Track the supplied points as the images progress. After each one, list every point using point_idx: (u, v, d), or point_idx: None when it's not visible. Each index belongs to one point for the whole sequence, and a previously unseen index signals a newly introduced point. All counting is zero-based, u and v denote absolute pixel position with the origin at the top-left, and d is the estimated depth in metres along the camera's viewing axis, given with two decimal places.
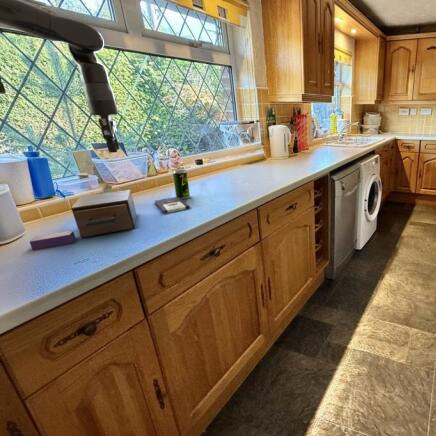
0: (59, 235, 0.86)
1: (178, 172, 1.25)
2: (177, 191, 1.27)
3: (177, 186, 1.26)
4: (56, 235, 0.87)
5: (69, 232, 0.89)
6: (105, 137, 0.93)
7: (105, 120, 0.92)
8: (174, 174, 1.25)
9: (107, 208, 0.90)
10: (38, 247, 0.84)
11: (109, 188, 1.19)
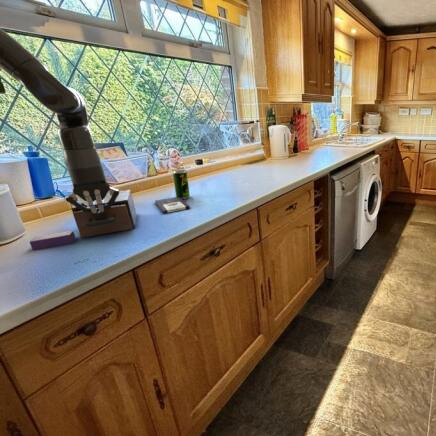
0: (59, 235, 0.86)
1: (178, 172, 1.25)
2: (177, 191, 1.27)
3: (177, 186, 1.26)
4: (56, 235, 0.87)
5: (69, 232, 0.89)
6: None
7: None
8: (174, 174, 1.25)
9: (107, 209, 0.90)
10: (38, 247, 0.84)
11: None
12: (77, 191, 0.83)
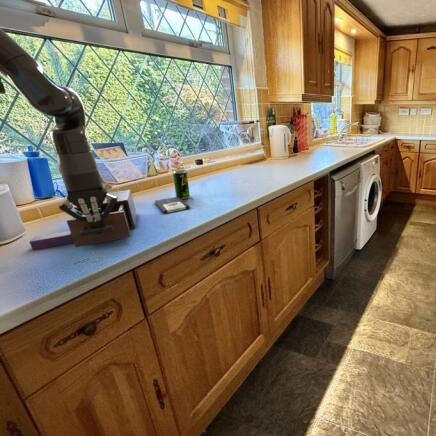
0: (59, 235, 0.86)
1: (178, 172, 1.25)
2: (177, 191, 1.27)
3: (177, 186, 1.26)
4: (56, 235, 0.87)
5: (69, 232, 0.89)
6: None
7: None
8: (174, 174, 1.25)
9: None
10: (38, 247, 0.84)
11: (109, 188, 1.19)
12: (71, 198, 0.76)
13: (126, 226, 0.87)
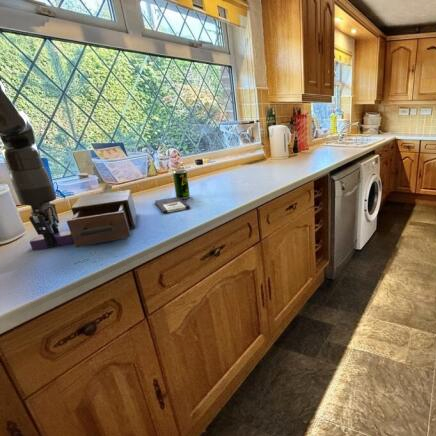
0: (59, 235, 0.86)
1: (178, 172, 1.25)
2: (177, 191, 1.27)
3: (177, 186, 1.26)
4: (56, 235, 0.87)
5: (69, 232, 0.89)
6: None
7: None
8: (174, 174, 1.25)
9: (103, 216, 0.84)
10: (38, 247, 0.84)
11: (109, 188, 1.19)
12: None
13: (126, 226, 0.87)
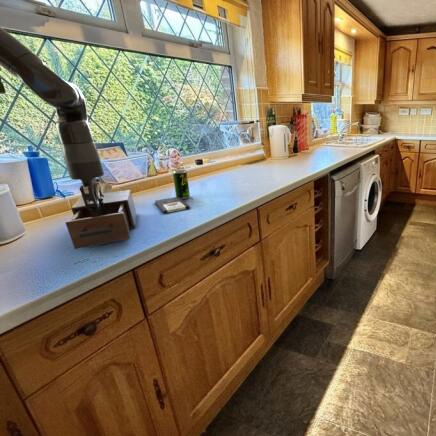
0: None
1: (178, 172, 1.25)
2: (177, 191, 1.27)
3: (177, 186, 1.26)
4: None
5: None
6: None
7: None
8: (174, 174, 1.25)
9: (103, 217, 0.82)
10: None
11: (109, 188, 1.19)
12: None
13: (126, 228, 0.86)
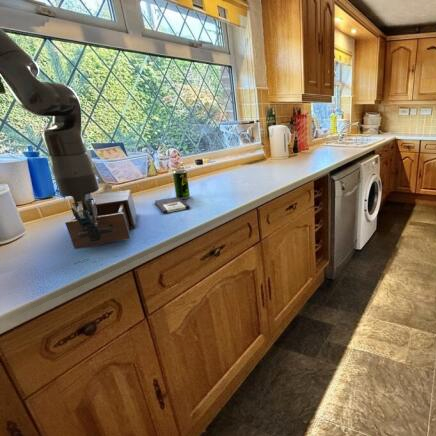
0: None
1: (178, 172, 1.25)
2: (177, 191, 1.27)
3: (177, 186, 1.26)
4: None
5: None
6: None
7: None
8: (174, 174, 1.25)
9: (103, 217, 0.82)
10: None
11: (109, 188, 1.19)
12: None
13: (126, 228, 0.86)
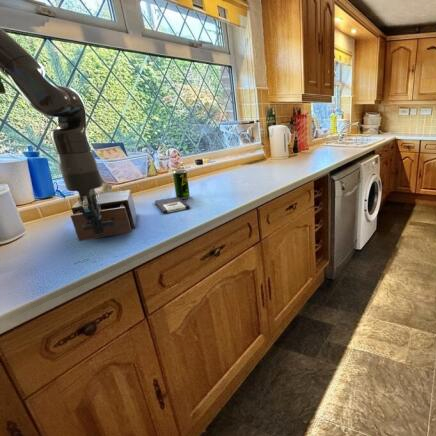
0: None
1: (178, 172, 1.25)
2: (177, 191, 1.27)
3: (177, 186, 1.26)
4: None
5: None
6: None
7: None
8: (174, 174, 1.25)
9: (106, 211, 0.88)
10: None
11: (109, 188, 1.19)
12: None
13: (127, 221, 0.91)
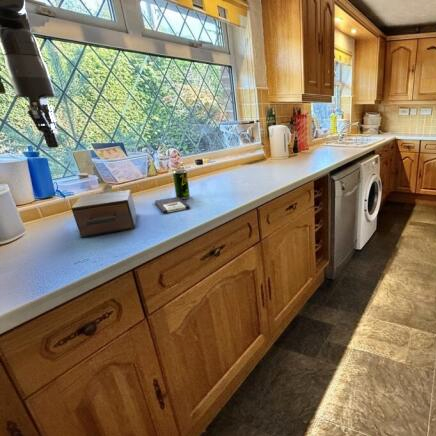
0: None
1: (178, 172, 1.25)
2: (177, 191, 1.27)
3: (177, 186, 1.26)
4: None
5: None
6: None
7: None
8: (174, 174, 1.25)
9: (107, 207, 0.91)
10: None
11: (109, 188, 1.19)
12: None
13: (128, 217, 0.95)
